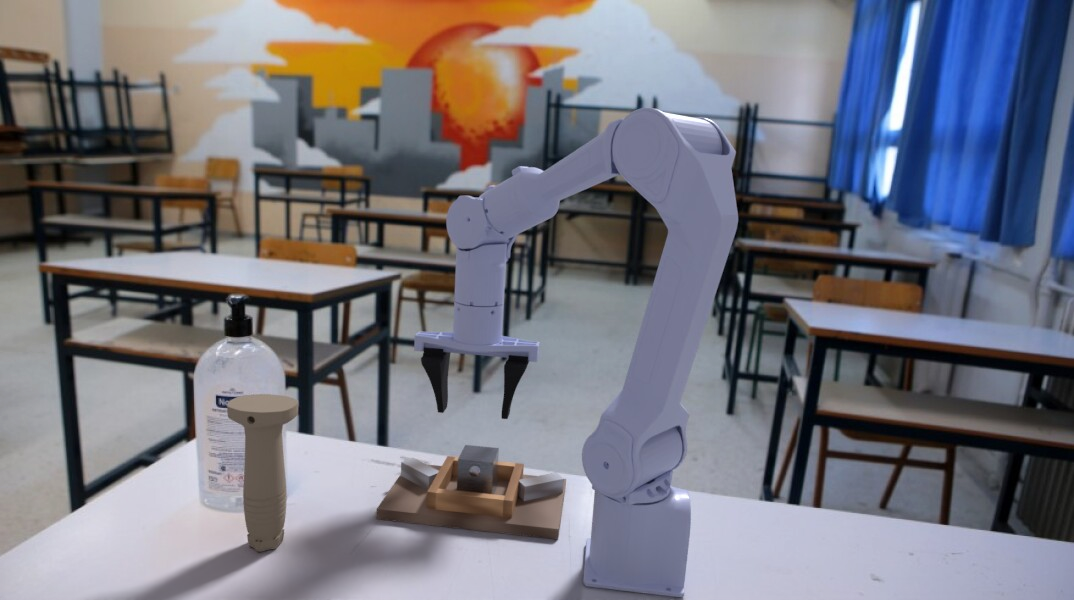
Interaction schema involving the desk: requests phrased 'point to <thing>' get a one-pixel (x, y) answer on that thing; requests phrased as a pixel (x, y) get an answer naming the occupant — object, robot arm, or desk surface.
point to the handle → (264, 464)
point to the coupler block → (478, 469)
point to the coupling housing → (476, 500)
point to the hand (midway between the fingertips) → (473, 412)
